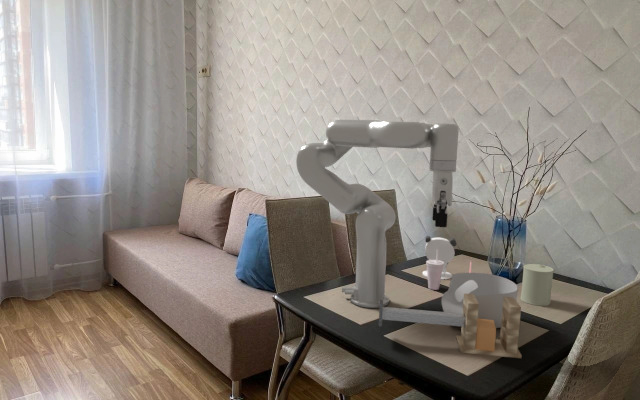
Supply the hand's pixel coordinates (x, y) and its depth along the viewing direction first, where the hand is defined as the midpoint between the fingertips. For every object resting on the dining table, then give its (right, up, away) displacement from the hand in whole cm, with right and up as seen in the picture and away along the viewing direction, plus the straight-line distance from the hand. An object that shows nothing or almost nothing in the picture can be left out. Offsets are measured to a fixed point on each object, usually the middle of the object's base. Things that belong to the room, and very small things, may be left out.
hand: (439, 223), depth 132 cm
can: (+37, -27, +17) cm, 49 cm away
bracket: (+8, -31, -17) cm, 37 cm away
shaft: (-9, -26, -15) cm, 31 cm away
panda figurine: (+11, -23, +43) cm, 49 cm away
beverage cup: (+13, -27, +14) cm, 33 cm away
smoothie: (+5, -25, +27) cm, 37 cm away
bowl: (+12, -29, +1) cm, 32 cm away
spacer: (+7, -31, -17) cm, 36 cm away
